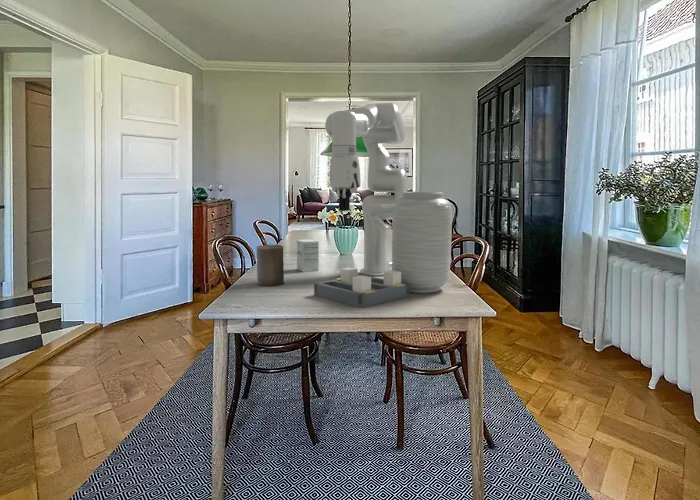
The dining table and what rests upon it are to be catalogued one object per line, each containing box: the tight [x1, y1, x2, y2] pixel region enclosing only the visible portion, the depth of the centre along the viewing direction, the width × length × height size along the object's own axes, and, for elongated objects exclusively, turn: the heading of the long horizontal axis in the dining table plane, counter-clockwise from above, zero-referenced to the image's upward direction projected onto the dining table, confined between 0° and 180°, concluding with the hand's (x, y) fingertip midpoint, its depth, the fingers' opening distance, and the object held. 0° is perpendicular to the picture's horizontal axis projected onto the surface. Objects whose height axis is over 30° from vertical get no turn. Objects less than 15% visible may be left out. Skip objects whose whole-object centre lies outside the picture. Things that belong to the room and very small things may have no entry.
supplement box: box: [296, 238, 320, 273], centre depth 203 cm, size 7×7×13 cm
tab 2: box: [383, 269, 401, 286], centre depth 158 cm, size 4×4×7 cm
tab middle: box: [340, 267, 359, 284], centre depth 163 cm, size 4×4×7 cm
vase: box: [391, 191, 453, 294], centre depth 168 cm, size 20×20×34 cm
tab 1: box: [353, 275, 372, 293], centre depth 149 cm, size 4×4×7 cm
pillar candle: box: [255, 242, 285, 287], centre depth 176 cm, size 10×10×15 cm
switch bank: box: [313, 274, 410, 309], centre depth 159 cm, size 22×22×4 cm
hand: (344, 210), depth 155 cm, fingers closed
